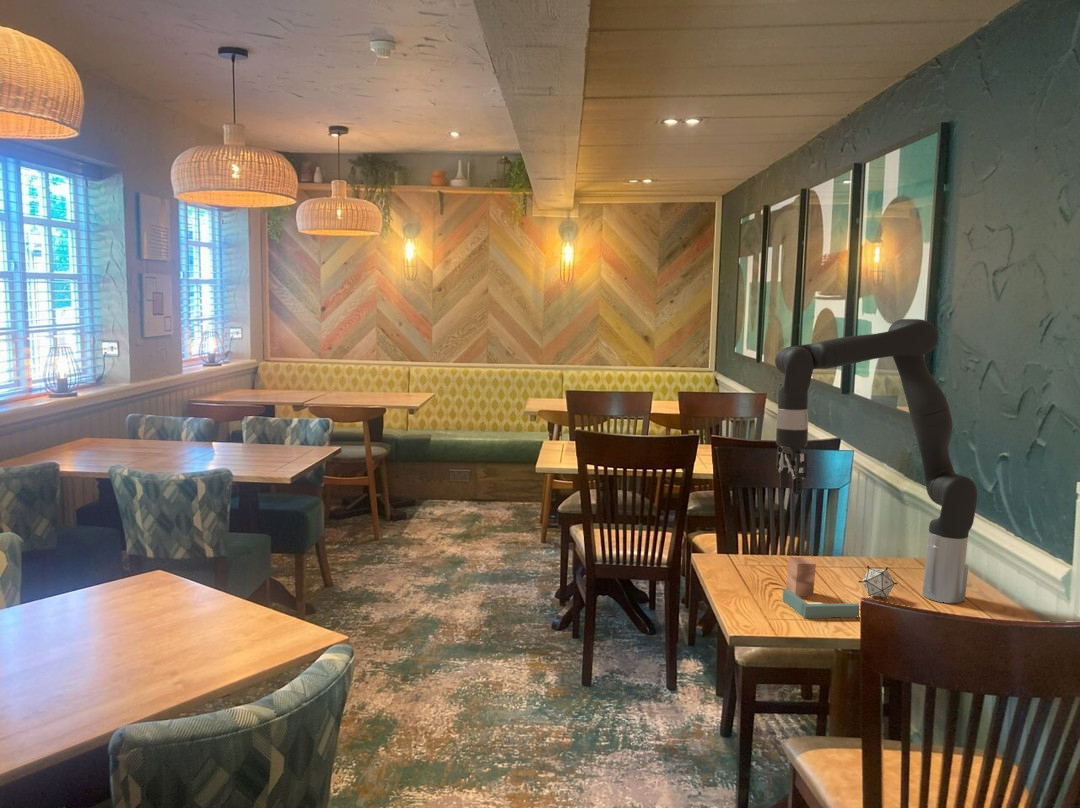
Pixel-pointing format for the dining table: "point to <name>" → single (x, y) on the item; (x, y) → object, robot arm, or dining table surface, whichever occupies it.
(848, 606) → the wall
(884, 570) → the game die
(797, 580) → the terracotta block
